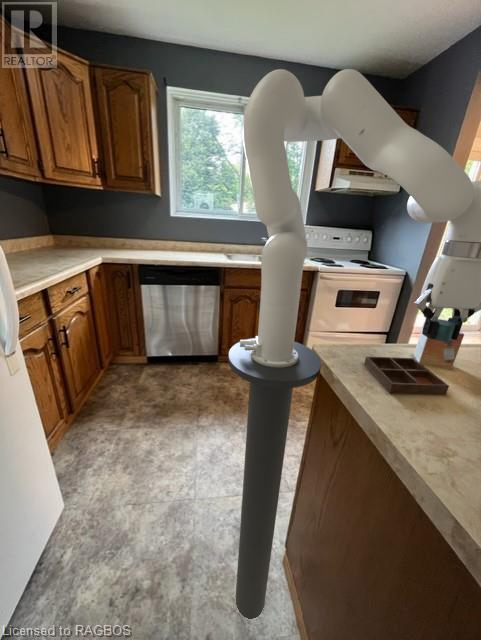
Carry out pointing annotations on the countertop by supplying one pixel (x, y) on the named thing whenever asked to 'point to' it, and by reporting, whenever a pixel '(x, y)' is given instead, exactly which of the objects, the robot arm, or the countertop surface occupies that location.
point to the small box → (437, 351)
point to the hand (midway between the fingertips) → (439, 336)
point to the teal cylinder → (444, 330)
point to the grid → (405, 376)
